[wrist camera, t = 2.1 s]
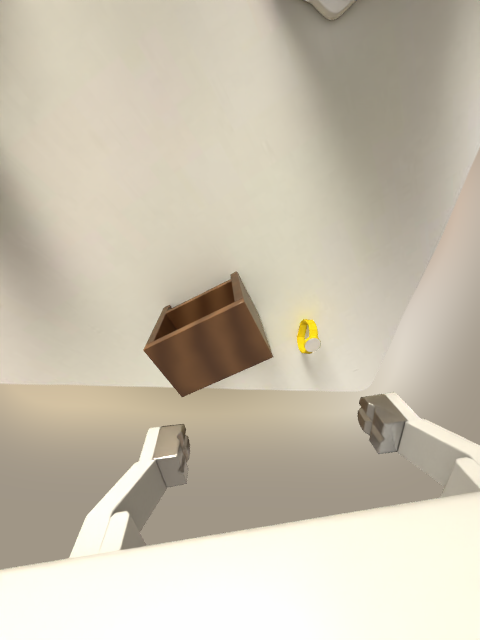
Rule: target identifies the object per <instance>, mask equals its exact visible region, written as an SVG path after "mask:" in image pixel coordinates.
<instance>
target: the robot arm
mask: <svg viewBox="0 0 480 640" xmlns="http://www.w3.org/2000/svg"><path fill="white" fill-rule="evenodd" d="M304 1H307V2H309V3H311V4H312V5H313V6H314V7H315V8H316V9H317V10H318V11H319V12H320V13H321V14H322V15H323V16H324V17H325V18H327V19H329V20H335V19H337V18H338V17H339V16H341V15H342V14H343V13H344V12H345V11H346V10H347V9H348V8H349V7H350V6H351V5H352V4H353V3H354V2H355V1H357V0H304ZM359 404H360V405H361V408H360V409H359V410H358V421H359V424H360V426H361V428H362V430H363V431H364V432H365V433H367V434H369V435H370V442H371V444H372V445H373V447H374V448H375V450H376V451H377V453H378V454H382V453H390V452H398V453H399V454H400V455H402V456H403V457H404V458H406V459H407V460H409V461H410V462H411V463H413V464H414V465H415V466H417V467H418V468H419V469H421V470H422V471H424V472H425V473H426V474H428V475H429V476H430V477H432V478H433V479H435V480H436V481H437V482H439V483H440V484H442V485H443V486H444V489H443V492H442V495H441V497H440V498H436V499H430V500H424V501H418V502H411V503H406V504H399V505H393V506H387V507H381V508H375V509H370V510H363V511H356V512H351V513H345V514H338V515H332V516H326V517H320V518H313V519H307V520H301V521H296V522H289V523H284V524H278V525H271V526H265V527H259V528H253V529H247V530H241V531H234V532H228V533H222V534H216V535H210V536H205V537H198V538H192V539H186V540H180V541H173V542H167V543H162V544H155V545H149V546H146V543H145V542H144V540H143V538H142V536H141V534H140V531H141V530H142V528H143V526H144V525H145V523H146V521H147V520H148V518H149V517H150V515H151V513H152V512H153V510H154V509H155V507H156V505H157V504H158V502H159V501H160V499H161V497H162V496H163V494H164V493H165V491H166V489H167V487H173V486H178V485H183V484H187V476H188V466H187V463H186V462H187V461H188V460H189V455H190V444H189V439H188V436H186V435H185V432H186V428H185V425H184V424H178V425H170V426H162V427H155V428H150V429H149V430H148V432H147V435H146V439H145V443H144V446H143V449H142V452H141V456H140V459H139V462H138V463H135V464H134V465H133V466H132V467H131V468H130V469H129V470H128V471H127V472H126V474H125V475H124V476H123V477H122V478H121V479H120V480H119V481H118V482H117V483H116V484H115V485H114V487H113V488H112V489H111V490H110V491H109V492H108V493H107V494H106V495H105V496H104V498H103V499H102V500H101V501H100V502H99V503H98V504H97V505H96V506H95V507H94V508H93V510H92V511H91V512H90V513H89V514H88V515H87V516H86V519H85V521H84V523H83V526H82V528H81V530H80V533H79V535H78V538H77V540H76V543H75V545H74V548H73V550H72V552H71V555H70V557H69V559H63V560H57V561H51V562H44V563H38V564H32V565H26V566H20V567H14V568H8V569H2V570H0V640H480V446H479V445H477V444H475V443H473V442H471V441H469V440H467V439H465V438H463V437H461V436H459V435H457V434H455V433H452V432H450V431H448V430H446V429H444V428H442V427H440V426H438V425H436V424H434V423H432V422H430V421H428V420H425V419H420V418H419V417H418V416H417V415H416V414H415V412H414V411H413V410H412V409H410V407H409V406H408V405H407V404H406V403H405V402H404V401H403V400H402V399H401V398H400V397H399V396H398V395H397V394H396V393H394V392H392V393H385V394H378V395H372V396H366V397H361V398H360V401H359Z"/></svg>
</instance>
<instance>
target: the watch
mask: <svg viewBox="0 0 480 640" xmlns="http://www.w3.org/2000/svg"><path fill="white" fill-rule="evenodd" d="M307 325H308V327H309V337H308V338H307V339H306V340H305V333H306V329H307ZM297 343H298V348H299V350H300V351H301V353H307V354H310V353H312V352H315V351H317V350H318V349H319V348H320V346H321V341H320V340H319V338H318V330H317V326H316V323H315V322H314V321H313V320H307V319H303V320H302V322H301V323H300V327H299V331H298V336H297Z"/></svg>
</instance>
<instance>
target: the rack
mask: <svg viewBox="0 0 480 640" xmlns="http://www.w3.org/2000/svg"><path fill="white" fill-rule="evenodd" d="M144 352H145V353H146V354H147V355H148V356H149V358H150V359H151V360H152V361H153V363H154V364H155V365H156V366H157V367H158V369H159V370H160V371H161V372H162V373H163V375H164V376H165V377H166V378H167V380H168V381H169V382H170V383H171V384H172V386H173V387H174V388H175V389H176V390H177V392H178V393H179V394H180V395H181V396H182V397H184V396H186V395H188V394H191V393H193V392H195V391H197V390H199V389H202V388H204V387H206V386H209V385H211V384H213V383H216V382H218V381H220V380H222V379H225V378H227V377H229V376H231V375H234V374H236V373H238V372H241V371H243V370H245V369H247V368H250V367H252V366H254V365H256V364H259V363H261V362H263V361H266V360H268V359H270V358H272V357H273V355H272V352H271V349H270V346H269V343H268V340H267V337H266V334H265V331H264V328H263V325H262V322H261V319H260V316H259V314H258V312H257V310H256V308H255V306H254V304H253V302H252V300H251V298H250V296H249V294H248V292H247V290H246V288H245V286H244V284H243V282H242V280H241V278H240V276H239V274H238V272H234V273H233V274H231V279H230V280H228V281H226V282H224V283H222V284H220V285H218V286H216V287H214V288H212V289H210V290H208V291H206V292H204V293H202V294H200V295H198V296H196V297H194V298H192V299H190V300H188V301H186V302H184V303H182V304H180V305H178V306H176V307H174V308H171V306H170V305H169V306H167V307H165V308H163V311H162V313H161V315H160V317H159V319H158V321H157V323H156V325H155V327H154V329H153V331H152V333H151V335H150V337H149V340H148V342H147V344H146V346H145V348H144Z"/></svg>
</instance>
